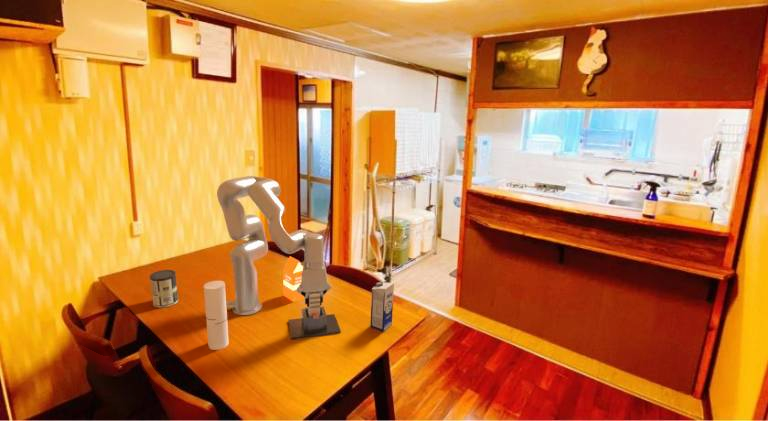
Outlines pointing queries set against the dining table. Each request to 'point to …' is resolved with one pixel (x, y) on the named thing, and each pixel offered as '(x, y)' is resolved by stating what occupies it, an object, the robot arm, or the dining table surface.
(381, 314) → the milk carton
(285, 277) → the orange juice
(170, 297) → the coffee can
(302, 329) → the stand base
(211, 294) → the cylindrical container
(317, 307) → the column
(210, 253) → the dining table surface
